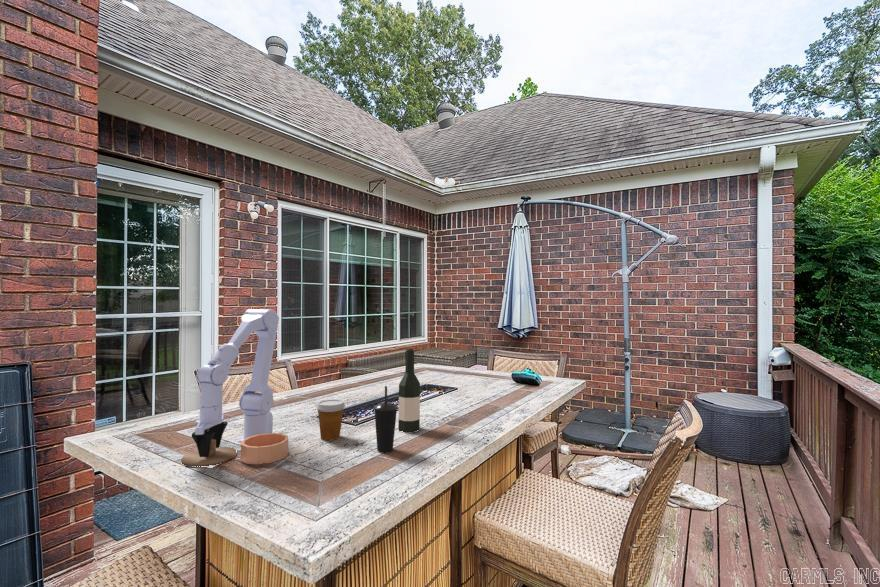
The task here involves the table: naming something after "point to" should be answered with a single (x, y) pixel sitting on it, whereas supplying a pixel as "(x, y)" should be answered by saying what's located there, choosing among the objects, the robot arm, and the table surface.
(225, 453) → the lid
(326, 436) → the disposable coffee cup
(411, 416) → the wine bottle
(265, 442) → the bowl
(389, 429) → the drinking cup
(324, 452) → the table surface
